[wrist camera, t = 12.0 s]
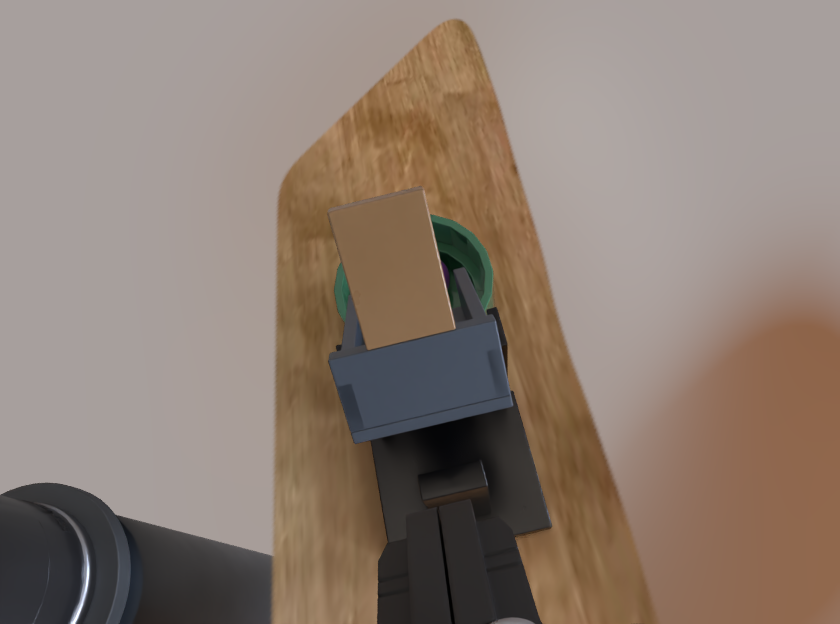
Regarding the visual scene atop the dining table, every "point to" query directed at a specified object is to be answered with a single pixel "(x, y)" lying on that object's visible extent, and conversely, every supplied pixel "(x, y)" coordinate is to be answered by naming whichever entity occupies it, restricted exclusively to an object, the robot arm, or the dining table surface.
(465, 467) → the stand
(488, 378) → the chute
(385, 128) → the dining table surface
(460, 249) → the bowl
